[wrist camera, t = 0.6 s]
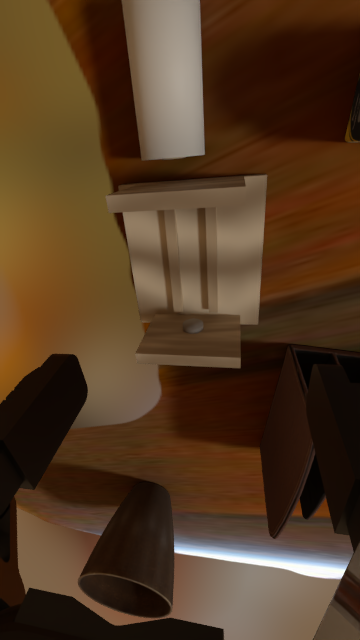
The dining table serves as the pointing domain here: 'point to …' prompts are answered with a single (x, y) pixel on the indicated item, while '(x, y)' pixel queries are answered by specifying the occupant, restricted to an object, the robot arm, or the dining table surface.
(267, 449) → the letter holder
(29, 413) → the robot arm
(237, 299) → the roll holder
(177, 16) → the paper roll
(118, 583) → the plant pot
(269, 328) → the dining table surface
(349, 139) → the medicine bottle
